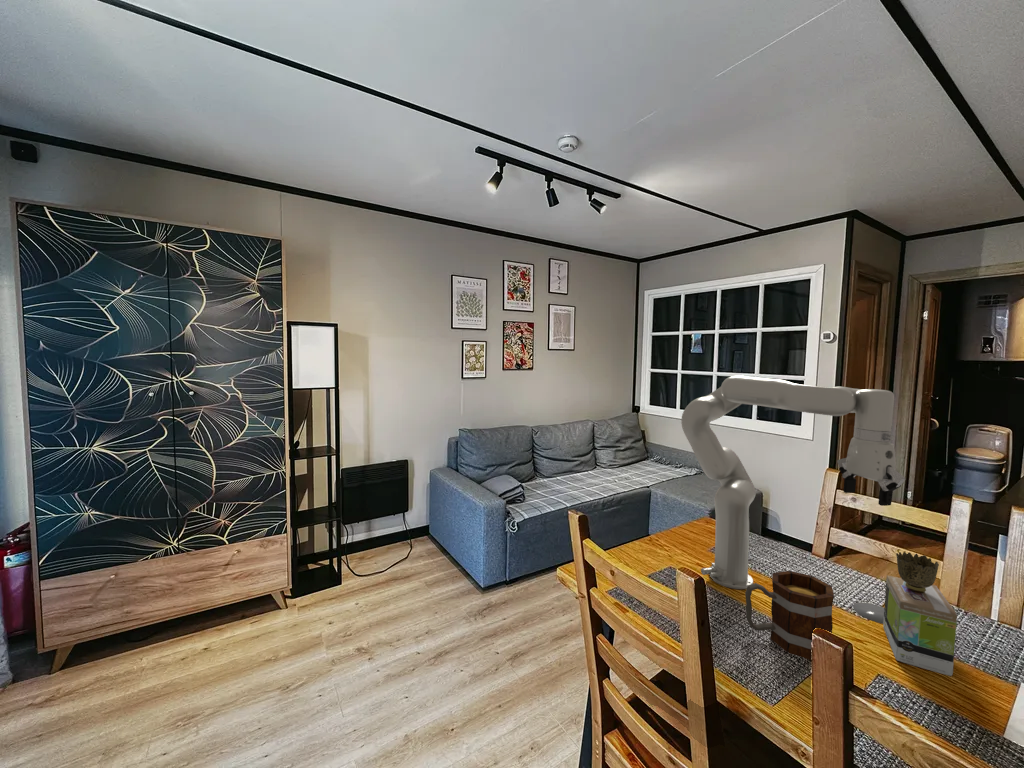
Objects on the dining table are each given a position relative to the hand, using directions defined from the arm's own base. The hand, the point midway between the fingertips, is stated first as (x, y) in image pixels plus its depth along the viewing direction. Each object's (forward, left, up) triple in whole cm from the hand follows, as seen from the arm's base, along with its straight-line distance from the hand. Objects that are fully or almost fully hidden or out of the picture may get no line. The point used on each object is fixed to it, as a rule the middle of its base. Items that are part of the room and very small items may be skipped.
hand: (866, 498), depth 114 cm
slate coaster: (+7, +1, -34) cm, 34 cm away
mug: (-27, -4, -34) cm, 44 cm away
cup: (+1, -12, -19) cm, 23 cm away
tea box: (+1, -13, -34) cm, 36 cm away
